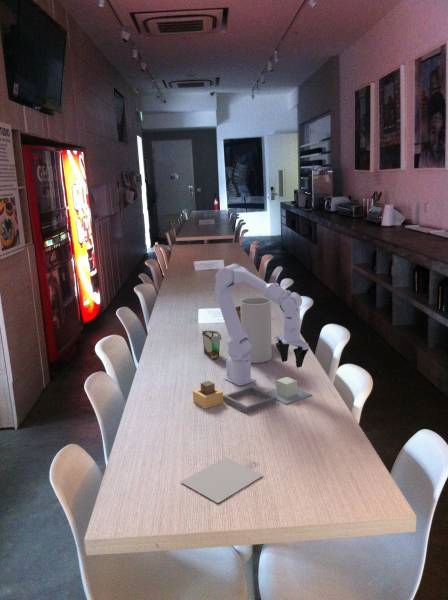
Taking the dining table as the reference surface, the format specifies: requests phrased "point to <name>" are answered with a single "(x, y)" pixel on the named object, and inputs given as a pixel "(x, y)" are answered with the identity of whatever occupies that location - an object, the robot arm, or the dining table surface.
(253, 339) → the cylinder vase
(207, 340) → the food container
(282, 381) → the block
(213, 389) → the rod
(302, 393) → the slate mat
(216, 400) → the socket
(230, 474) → the grey square panel
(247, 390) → the grey square frame
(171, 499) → the dining table surface
